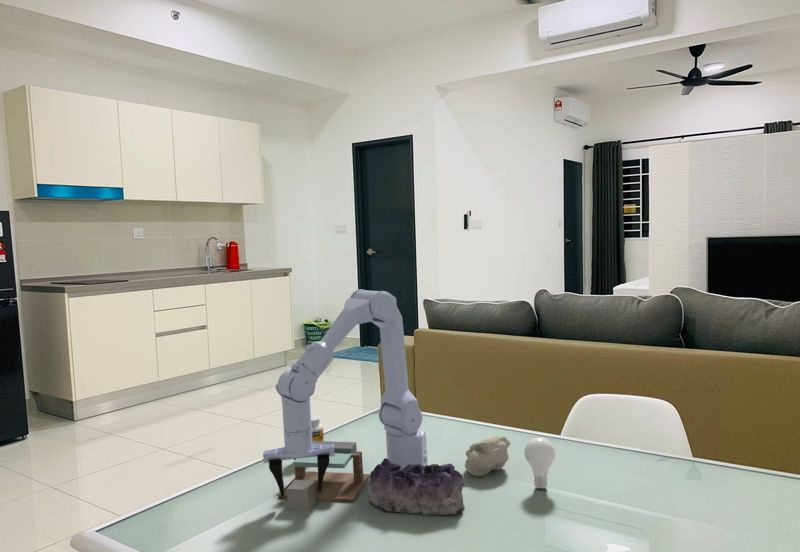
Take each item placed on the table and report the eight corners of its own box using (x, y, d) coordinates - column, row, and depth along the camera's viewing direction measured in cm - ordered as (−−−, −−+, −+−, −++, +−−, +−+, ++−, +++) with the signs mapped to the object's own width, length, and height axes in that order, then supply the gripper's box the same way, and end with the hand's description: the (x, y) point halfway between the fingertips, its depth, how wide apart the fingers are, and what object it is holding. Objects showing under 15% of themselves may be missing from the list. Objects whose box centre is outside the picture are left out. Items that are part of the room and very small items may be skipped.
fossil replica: (456, 477, 134) (498, 488, 129) (456, 443, 132) (499, 453, 128) (475, 455, 144) (514, 464, 140) (475, 423, 143) (515, 431, 138)
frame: (369, 476, 136) (368, 447, 136) (353, 502, 124) (352, 469, 123) (300, 473, 140) (299, 444, 139) (278, 498, 127) (276, 466, 127)
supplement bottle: (311, 463, 146) (308, 423, 145) (298, 458, 150) (296, 418, 149) (329, 456, 150) (327, 417, 149) (316, 451, 154) (314, 413, 153)
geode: (362, 519, 116) (359, 468, 117) (374, 501, 128) (371, 454, 128) (465, 518, 113) (462, 465, 114) (468, 499, 125) (464, 451, 125)
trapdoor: (358, 451, 137) (357, 442, 137) (344, 469, 126) (344, 459, 126) (310, 449, 139) (309, 440, 139) (293, 467, 129) (292, 457, 129)
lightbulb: (558, 484, 128) (557, 434, 127) (553, 496, 122) (551, 444, 121) (529, 480, 130) (527, 431, 129) (522, 492, 124) (521, 441, 124)
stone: (316, 501, 125) (315, 480, 125) (308, 511, 121) (307, 489, 120) (296, 500, 126) (295, 479, 126) (288, 509, 122) (286, 488, 121)
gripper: (331, 419, 127) (334, 480, 128) (263, 425, 125) (266, 487, 126) (333, 429, 120) (336, 494, 121) (260, 436, 118) (264, 502, 119)
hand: (301, 491), depth 123 cm, fingers open, 7 cm apart
